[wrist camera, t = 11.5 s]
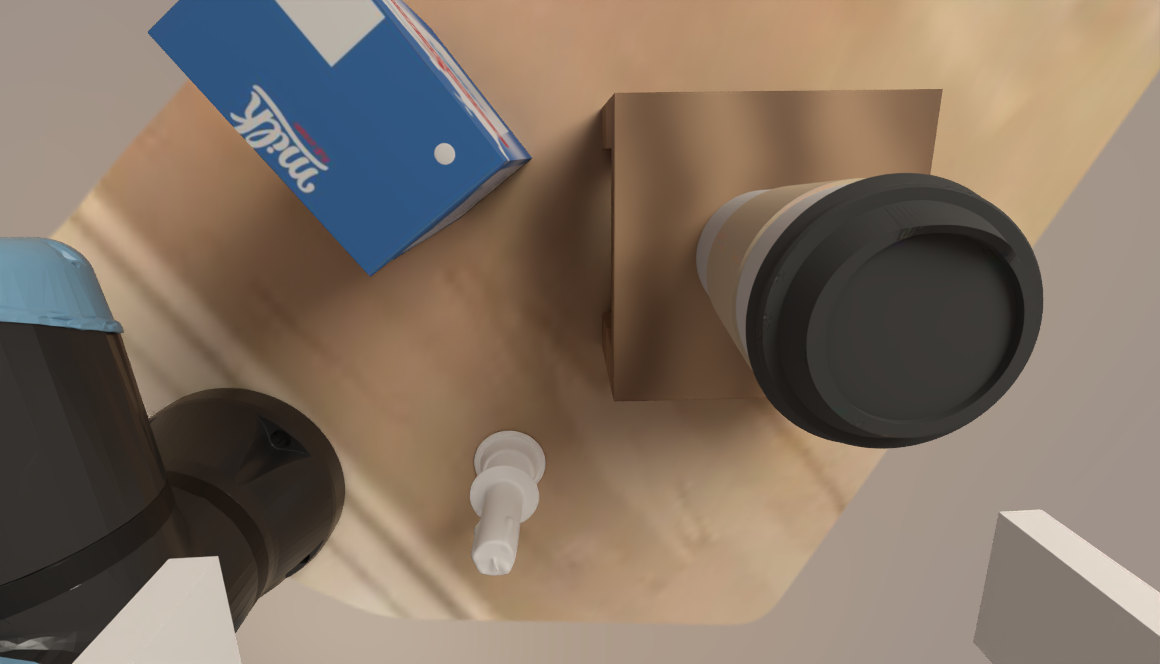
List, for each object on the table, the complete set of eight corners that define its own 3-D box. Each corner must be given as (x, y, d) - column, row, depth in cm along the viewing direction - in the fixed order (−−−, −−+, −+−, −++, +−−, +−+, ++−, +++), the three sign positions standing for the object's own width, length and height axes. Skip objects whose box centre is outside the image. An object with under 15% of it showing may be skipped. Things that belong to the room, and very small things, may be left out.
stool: (602, 346, 43) (614, 401, 34) (601, 108, 39) (614, 92, 29) (823, 341, 44) (898, 394, 34) (849, 105, 39) (942, 89, 29)
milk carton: (355, 93, 38) (145, 30, 19) (429, 26, 37) (287, -112, 18) (461, 218, 40) (370, 277, 21) (533, 159, 39) (505, 163, 20)
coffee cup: (814, 354, 33) (1009, 506, 19) (655, 319, 32) (731, 451, 18) (872, 188, 31) (1148, 218, 16) (702, 147, 30) (834, 139, 15)
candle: (560, 465, 46) (559, 569, 34) (507, 505, 47) (489, 620, 35) (512, 415, 45) (495, 507, 33) (459, 459, 45) (424, 562, 34)
